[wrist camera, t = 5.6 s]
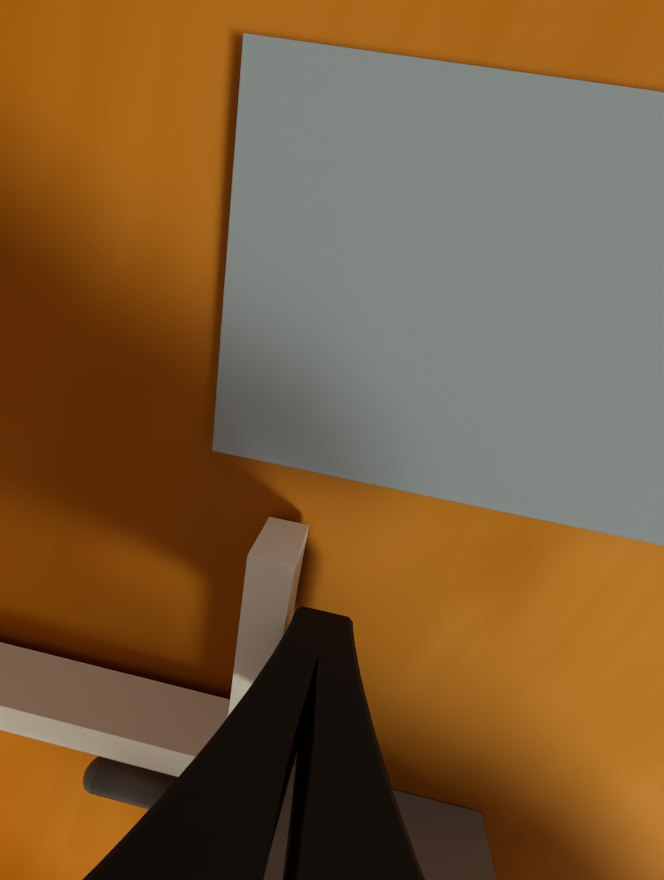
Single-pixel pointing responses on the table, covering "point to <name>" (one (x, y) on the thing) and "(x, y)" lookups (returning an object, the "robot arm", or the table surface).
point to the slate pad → (448, 283)
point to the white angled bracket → (147, 701)
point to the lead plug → (427, 821)
